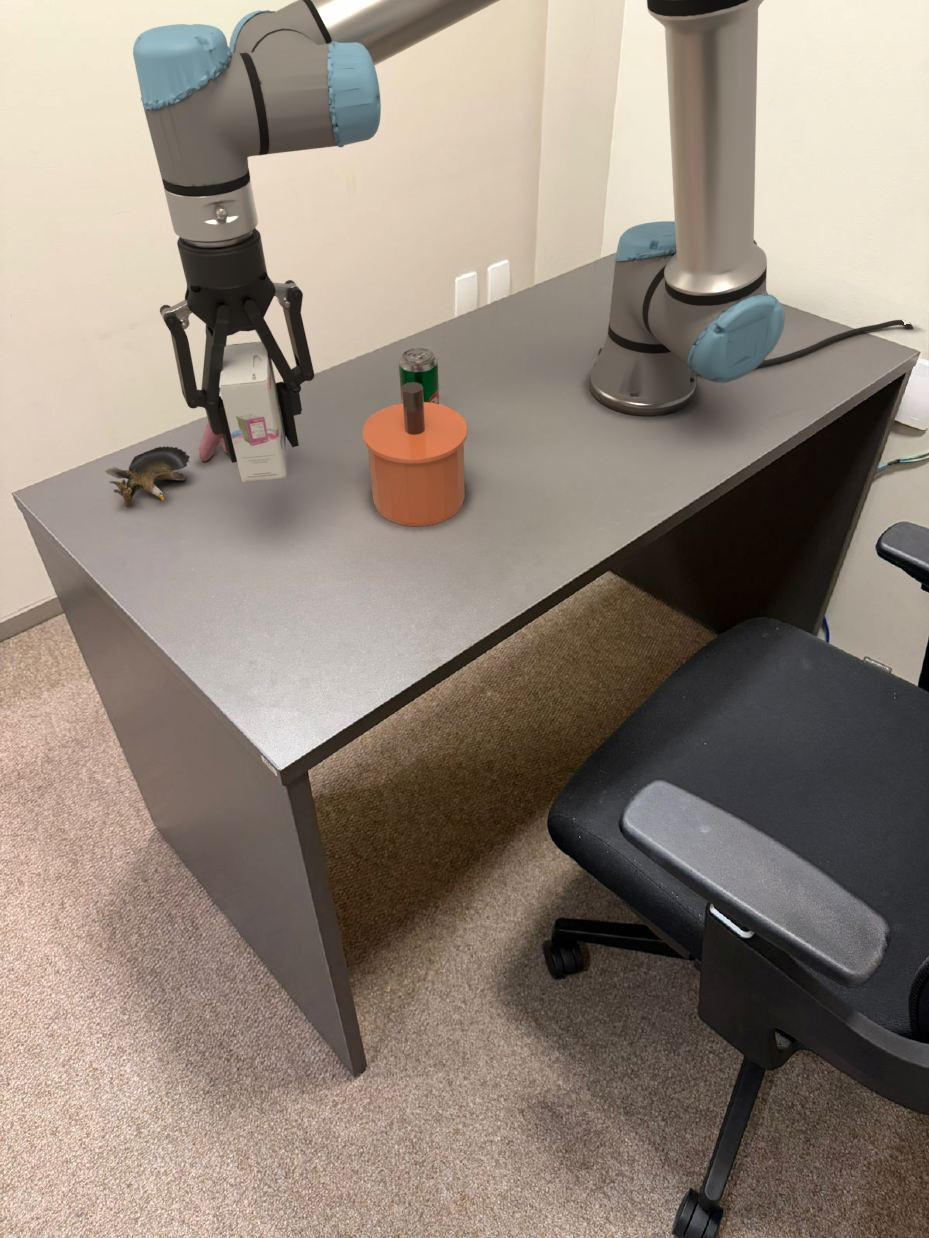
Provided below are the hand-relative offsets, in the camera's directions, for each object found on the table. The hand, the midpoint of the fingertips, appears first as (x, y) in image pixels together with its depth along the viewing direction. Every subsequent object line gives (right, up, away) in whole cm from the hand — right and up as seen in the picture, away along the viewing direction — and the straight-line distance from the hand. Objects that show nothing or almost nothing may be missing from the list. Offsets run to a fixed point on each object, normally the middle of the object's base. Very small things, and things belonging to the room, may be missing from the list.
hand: (262, 447), depth 95 cm
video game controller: (-8, +3, +22) cm, 23 cm away
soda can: (+16, +6, +25) cm, 30 cm away
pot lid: (+16, +3, +8) cm, 18 cm away
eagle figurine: (-17, -3, +16) cm, 24 cm away
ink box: (0, -1, +1) cm, 1 cm away
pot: (+16, -3, +14) cm, 22 cm away
